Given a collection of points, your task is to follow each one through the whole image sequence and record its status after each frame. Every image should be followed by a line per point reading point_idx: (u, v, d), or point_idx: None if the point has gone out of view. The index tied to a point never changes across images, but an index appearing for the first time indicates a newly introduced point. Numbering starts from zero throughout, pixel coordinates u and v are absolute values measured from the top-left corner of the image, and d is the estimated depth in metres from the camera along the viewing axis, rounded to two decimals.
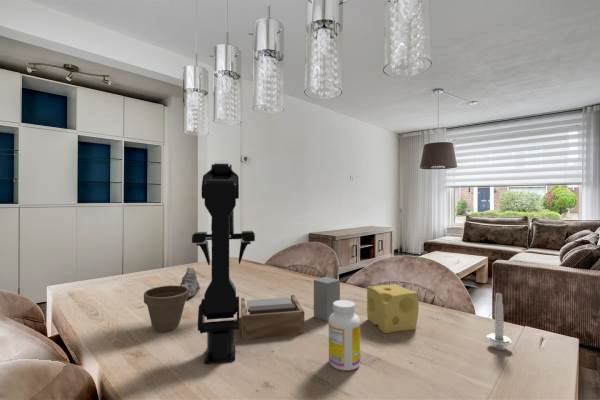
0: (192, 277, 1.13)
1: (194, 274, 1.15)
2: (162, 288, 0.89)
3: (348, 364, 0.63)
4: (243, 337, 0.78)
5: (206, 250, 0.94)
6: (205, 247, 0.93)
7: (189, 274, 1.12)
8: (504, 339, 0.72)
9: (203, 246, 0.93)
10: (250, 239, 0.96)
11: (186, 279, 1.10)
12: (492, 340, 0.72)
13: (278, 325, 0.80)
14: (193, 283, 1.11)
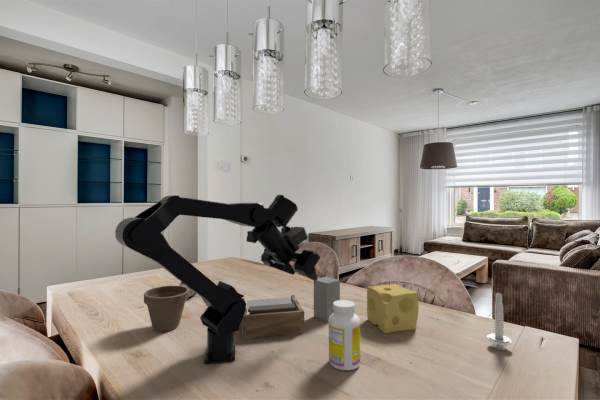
0: None
1: None
2: (162, 288, 0.89)
3: (348, 364, 0.63)
4: (243, 337, 0.78)
5: (278, 269, 0.87)
6: None
7: None
8: (504, 339, 0.72)
9: (273, 267, 0.87)
10: (303, 273, 0.75)
11: None
12: (492, 340, 0.72)
13: (278, 325, 0.80)
14: None
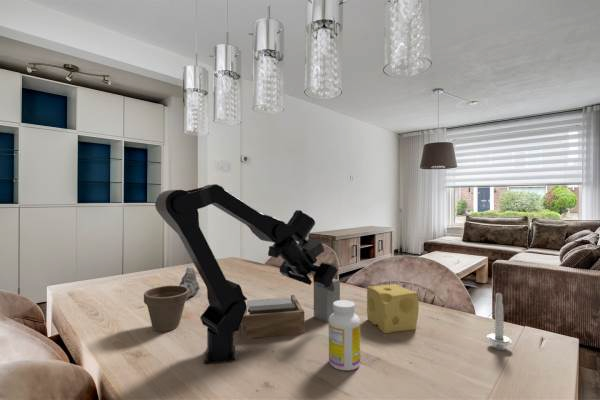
0: (191, 277, 1.13)
1: (193, 274, 1.15)
2: (162, 288, 0.89)
3: (348, 364, 0.63)
4: (243, 337, 0.78)
5: None
6: None
7: (188, 274, 1.12)
8: (504, 339, 0.72)
9: (291, 278, 0.91)
10: (322, 285, 0.80)
11: (185, 279, 1.10)
12: (492, 340, 0.72)
13: (278, 325, 0.80)
14: (192, 283, 1.11)
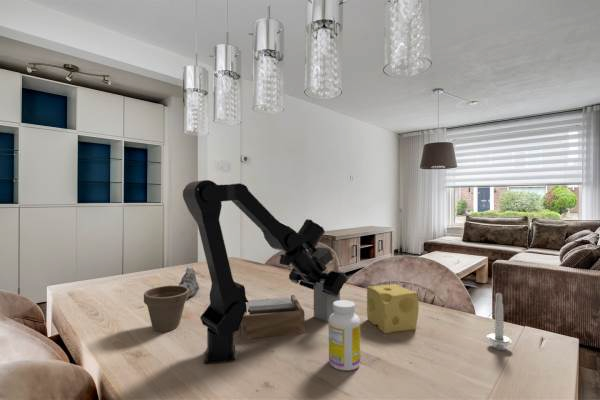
0: (191, 277, 1.13)
1: (193, 274, 1.15)
2: (162, 288, 0.89)
3: (348, 364, 0.63)
4: (243, 337, 0.78)
5: None
6: None
7: (188, 274, 1.12)
8: (504, 339, 0.72)
9: (304, 286, 0.92)
10: (332, 293, 0.82)
11: (185, 279, 1.10)
12: (492, 340, 0.72)
13: (278, 325, 0.80)
14: (192, 283, 1.11)
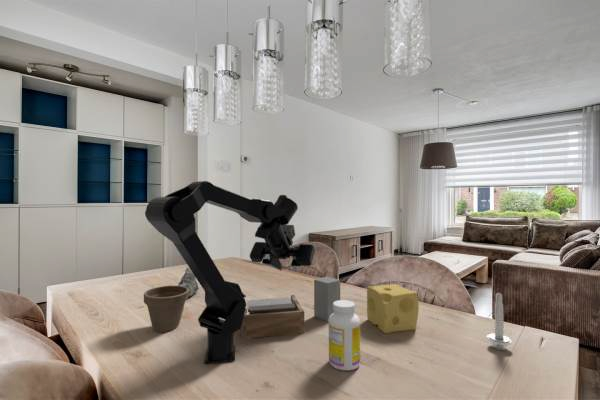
0: (190, 277, 1.13)
1: (193, 274, 1.15)
2: (162, 288, 0.89)
3: (348, 364, 0.63)
4: (243, 337, 0.78)
5: (272, 265, 0.91)
6: (270, 265, 0.91)
7: (187, 274, 1.12)
8: (504, 339, 0.72)
9: (268, 264, 0.91)
10: (305, 264, 0.85)
11: (184, 279, 1.10)
12: (492, 340, 0.72)
13: (278, 325, 0.80)
14: (191, 283, 1.11)
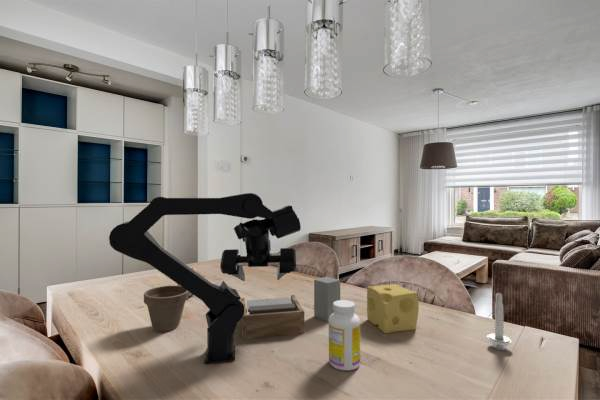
0: None
1: None
2: (162, 288, 0.89)
3: (348, 364, 0.63)
4: (243, 337, 0.78)
5: (239, 276, 0.79)
6: (237, 275, 0.78)
7: None
8: (504, 339, 0.72)
9: (235, 275, 0.78)
10: (290, 270, 0.77)
11: None
12: (492, 340, 0.72)
13: (278, 325, 0.80)
14: None
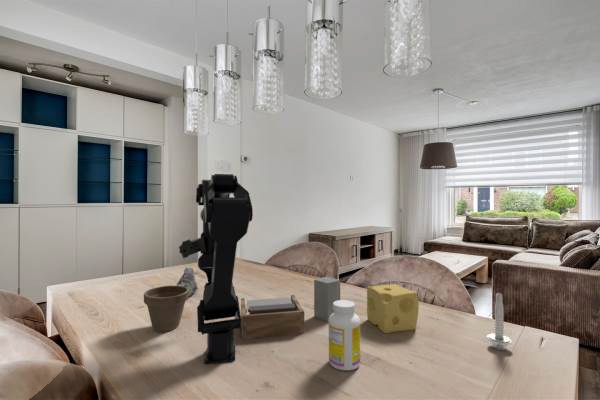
0: (189, 277, 1.13)
1: (192, 274, 1.15)
2: (162, 288, 0.89)
3: (348, 364, 0.63)
4: (243, 337, 0.78)
5: None
6: None
7: (186, 274, 1.12)
8: (504, 339, 0.72)
9: None
10: None
11: (182, 279, 1.10)
12: (492, 340, 0.72)
13: (278, 325, 0.80)
14: (190, 283, 1.11)
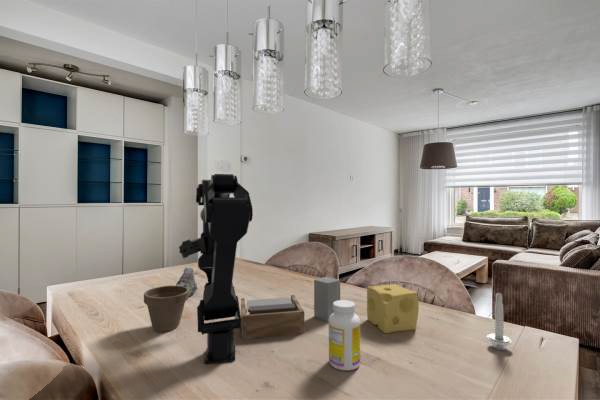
0: (189, 277, 1.13)
1: (191, 274, 1.15)
2: (162, 288, 0.89)
3: (348, 364, 0.63)
4: (243, 337, 0.78)
5: None
6: None
7: (185, 274, 1.12)
8: (504, 339, 0.72)
9: None
10: None
11: (182, 279, 1.10)
12: (492, 340, 0.72)
13: (278, 325, 0.80)
14: (189, 283, 1.11)
